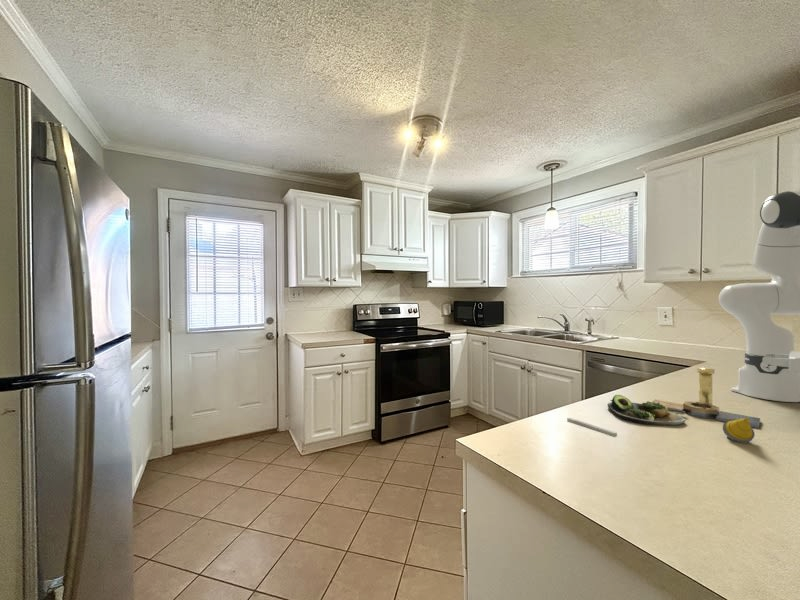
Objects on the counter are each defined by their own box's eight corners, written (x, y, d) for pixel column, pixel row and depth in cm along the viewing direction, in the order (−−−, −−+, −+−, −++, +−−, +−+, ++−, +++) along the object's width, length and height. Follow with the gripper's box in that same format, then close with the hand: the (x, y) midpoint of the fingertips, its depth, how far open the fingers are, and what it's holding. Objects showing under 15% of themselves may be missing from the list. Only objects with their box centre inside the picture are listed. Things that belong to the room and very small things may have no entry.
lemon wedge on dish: (755, 441, 80) (771, 423, 74) (734, 451, 80) (749, 433, 74) (732, 422, 84) (746, 403, 78) (713, 431, 84) (725, 413, 78)
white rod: (616, 436, 84) (616, 432, 84) (614, 437, 83) (614, 433, 83) (569, 421, 95) (569, 417, 95) (567, 421, 94) (567, 418, 94)
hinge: (655, 402, 110) (655, 394, 110) (760, 421, 92) (760, 412, 92) (649, 406, 105) (648, 399, 105) (758, 428, 87) (758, 419, 87)
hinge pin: (698, 405, 106) (698, 366, 106) (715, 408, 103) (715, 368, 103) (696, 407, 104) (695, 368, 104) (713, 411, 101) (713, 370, 101)
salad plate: (670, 409, 104) (670, 394, 104) (707, 431, 87) (707, 413, 87) (601, 404, 109) (601, 390, 109) (622, 424, 92) (622, 407, 92)
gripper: (842, 349, 90) (766, 344, 101) (849, 356, 77) (760, 350, 88) (842, 372, 90) (766, 365, 101) (849, 384, 77) (761, 374, 87)
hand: (763, 358), depth 94 cm, fingers open, 8 cm apart
